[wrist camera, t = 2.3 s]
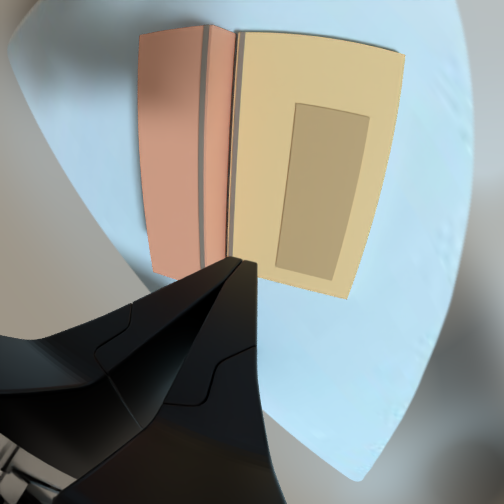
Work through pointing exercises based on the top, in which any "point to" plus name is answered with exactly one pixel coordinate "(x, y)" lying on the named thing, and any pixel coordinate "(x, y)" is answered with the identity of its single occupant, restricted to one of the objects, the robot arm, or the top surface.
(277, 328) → the top surface
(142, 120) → the pink long block
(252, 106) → the tan rectangular slab
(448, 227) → the top surface
